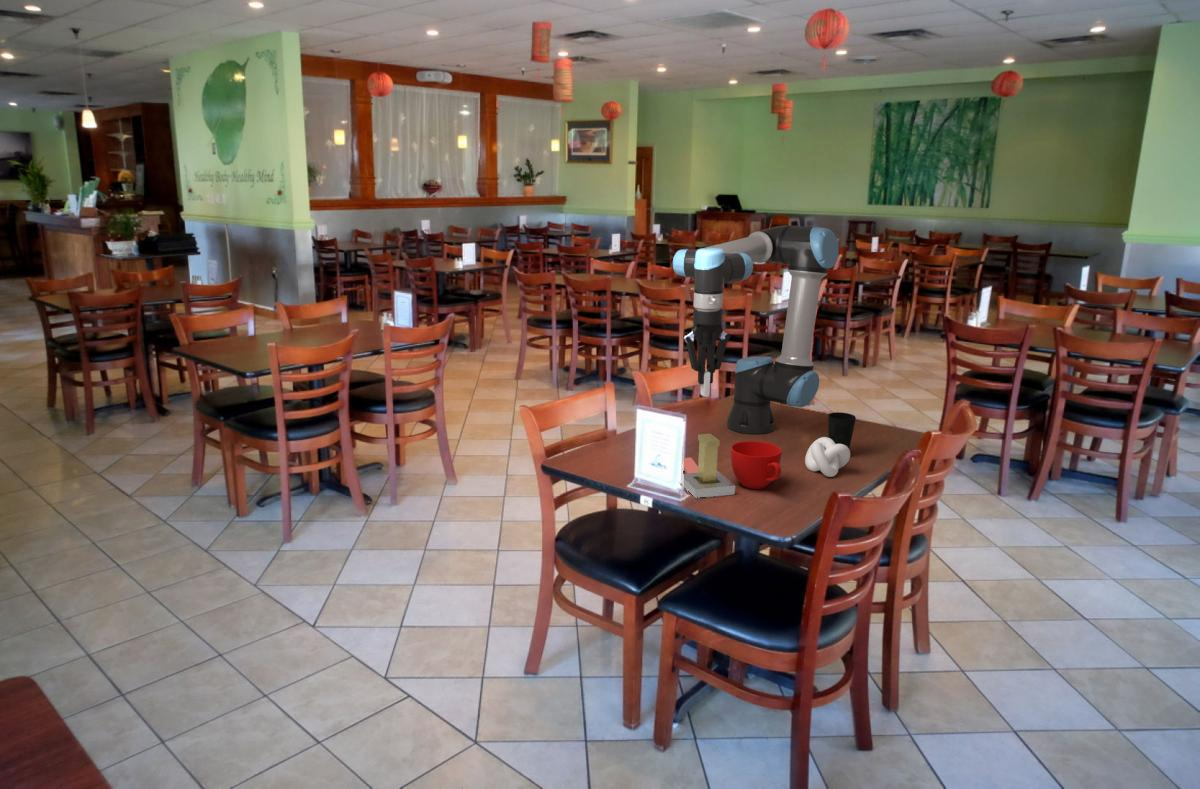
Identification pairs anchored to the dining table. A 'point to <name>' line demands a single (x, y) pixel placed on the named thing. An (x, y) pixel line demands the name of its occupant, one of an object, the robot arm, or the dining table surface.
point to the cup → (841, 427)
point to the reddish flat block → (690, 466)
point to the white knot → (826, 456)
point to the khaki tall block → (707, 458)
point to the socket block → (708, 486)
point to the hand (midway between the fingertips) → (704, 395)
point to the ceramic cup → (755, 463)
